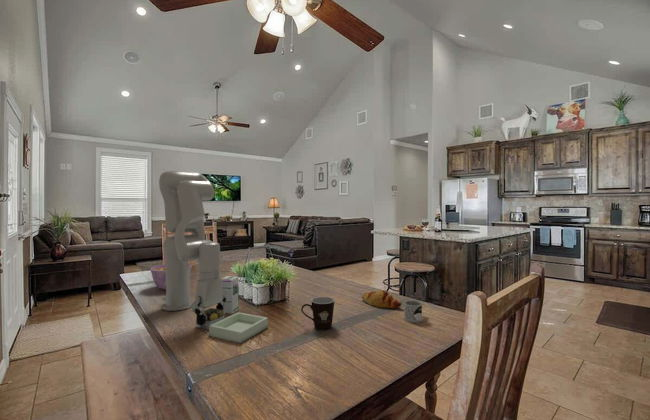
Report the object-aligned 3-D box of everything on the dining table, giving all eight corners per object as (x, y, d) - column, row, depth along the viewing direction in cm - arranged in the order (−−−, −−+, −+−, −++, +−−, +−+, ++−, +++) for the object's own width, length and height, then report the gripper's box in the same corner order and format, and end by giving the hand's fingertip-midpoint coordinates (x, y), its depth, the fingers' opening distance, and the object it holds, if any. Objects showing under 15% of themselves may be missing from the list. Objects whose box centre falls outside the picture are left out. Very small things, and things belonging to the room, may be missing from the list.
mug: (416, 324, 120) (416, 307, 120) (401, 320, 125) (401, 303, 125) (428, 317, 128) (428, 300, 128) (413, 313, 132) (413, 297, 132)
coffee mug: (337, 324, 121) (337, 298, 121) (330, 332, 113) (330, 304, 113) (309, 320, 125) (308, 295, 124) (300, 328, 117) (300, 301, 116)
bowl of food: (159, 284, 181) (159, 264, 181) (196, 283, 183) (196, 263, 183) (143, 294, 161) (143, 271, 161) (184, 292, 163) (184, 270, 163)
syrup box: (233, 314, 132) (232, 279, 132) (220, 313, 134) (219, 278, 133) (239, 309, 138) (239, 276, 138) (226, 308, 139) (226, 275, 139)
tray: (209, 335, 111) (209, 325, 111) (238, 321, 124) (238, 312, 124) (241, 343, 105) (241, 332, 105) (268, 327, 118) (268, 317, 118)
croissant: (358, 308, 150) (353, 295, 147) (369, 294, 156) (364, 281, 153) (398, 318, 135) (393, 304, 132) (408, 302, 141) (403, 288, 139)
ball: (207, 321, 121) (208, 313, 121) (213, 319, 124) (214, 312, 124) (213, 323, 120) (214, 314, 120) (219, 321, 123) (220, 313, 123)
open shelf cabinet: (195, 326, 119) (195, 313, 118) (210, 320, 125) (210, 307, 125) (210, 330, 116) (209, 316, 116) (224, 323, 122) (224, 310, 122)
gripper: (219, 270, 129) (219, 311, 130) (183, 279, 114) (184, 326, 114) (233, 271, 126) (234, 314, 127) (199, 281, 111) (199, 330, 111)
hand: (210, 320), depth 120 cm, fingers open, 9 cm apart
